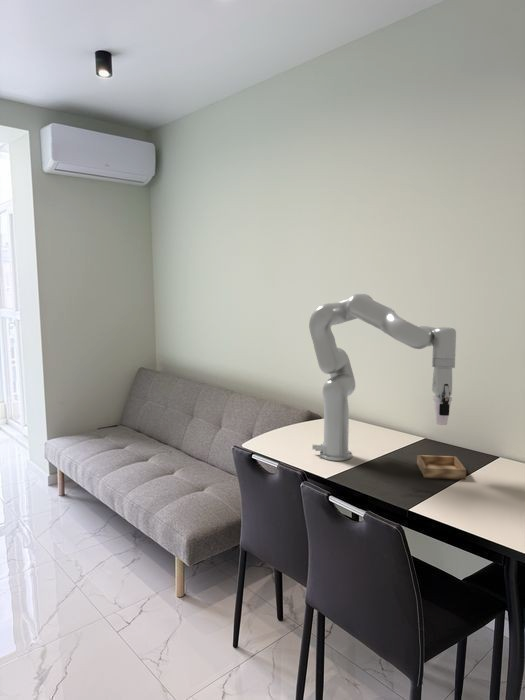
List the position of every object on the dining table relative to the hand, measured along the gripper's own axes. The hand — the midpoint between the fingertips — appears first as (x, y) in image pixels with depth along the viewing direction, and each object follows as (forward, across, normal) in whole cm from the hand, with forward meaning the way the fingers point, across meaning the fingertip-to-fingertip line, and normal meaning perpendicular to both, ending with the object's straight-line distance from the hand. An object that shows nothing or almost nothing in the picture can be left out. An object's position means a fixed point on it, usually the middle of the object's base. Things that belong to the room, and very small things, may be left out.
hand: (441, 412), depth 179 cm
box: (+22, 0, 0) cm, 22 cm away
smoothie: (+4, 0, 0) cm, 4 cm away
